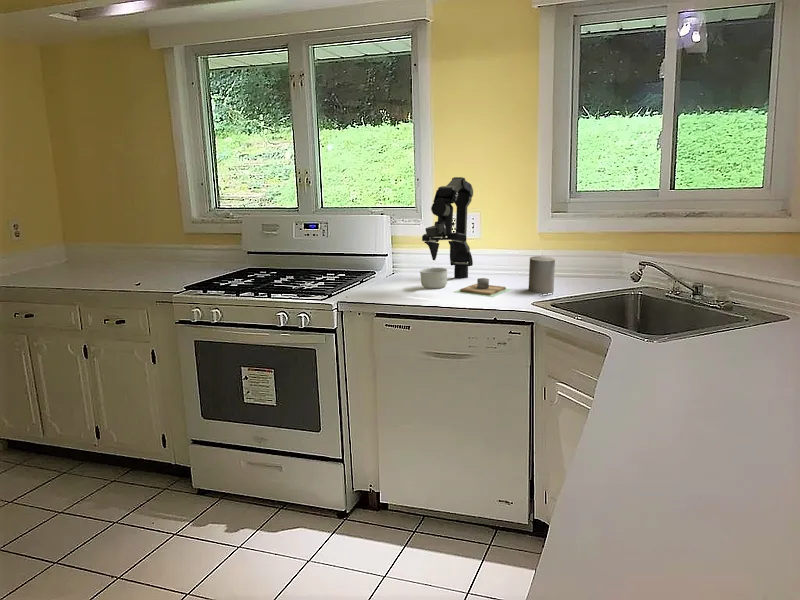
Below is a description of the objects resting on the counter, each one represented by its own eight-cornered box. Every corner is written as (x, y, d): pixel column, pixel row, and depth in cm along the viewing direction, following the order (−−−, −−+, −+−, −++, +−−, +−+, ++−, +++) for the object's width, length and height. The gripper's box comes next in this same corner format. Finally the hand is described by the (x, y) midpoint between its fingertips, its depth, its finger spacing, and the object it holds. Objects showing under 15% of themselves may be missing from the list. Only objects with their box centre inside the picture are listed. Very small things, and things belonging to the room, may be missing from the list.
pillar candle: (523, 291, 269) (524, 253, 266) (544, 289, 273) (546, 252, 269) (537, 296, 261) (538, 257, 257) (559, 294, 264) (560, 255, 261)
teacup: (445, 292, 270) (445, 272, 268) (417, 291, 272) (417, 271, 270) (449, 285, 283) (449, 266, 282) (423, 284, 285) (423, 265, 284)
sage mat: (474, 287, 279) (474, 284, 279) (512, 291, 270) (512, 289, 269) (452, 294, 266) (452, 292, 265) (492, 299, 256) (492, 297, 256)
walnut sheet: (476, 286, 276) (476, 274, 275) (505, 289, 269) (505, 278, 268) (460, 291, 266) (460, 280, 265) (490, 295, 259) (490, 283, 258)
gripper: (413, 218, 266) (410, 258, 266) (448, 215, 252) (445, 258, 252) (433, 221, 274) (430, 260, 274) (468, 219, 260) (466, 260, 260)
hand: (442, 260), depth 265 cm, fingers open, 9 cm apart
